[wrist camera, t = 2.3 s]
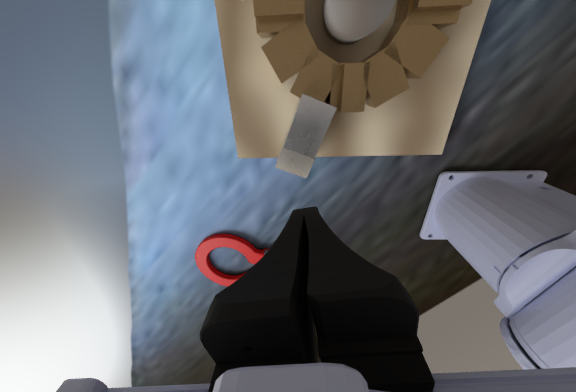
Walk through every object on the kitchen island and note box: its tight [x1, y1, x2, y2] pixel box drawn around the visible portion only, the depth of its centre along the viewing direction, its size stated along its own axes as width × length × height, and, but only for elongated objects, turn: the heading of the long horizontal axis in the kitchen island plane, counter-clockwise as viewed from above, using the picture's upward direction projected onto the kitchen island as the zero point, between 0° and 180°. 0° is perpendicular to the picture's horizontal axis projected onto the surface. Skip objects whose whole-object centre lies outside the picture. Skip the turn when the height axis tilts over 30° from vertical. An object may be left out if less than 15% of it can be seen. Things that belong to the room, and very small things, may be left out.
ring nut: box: [253, 0, 472, 178], centre depth 14 cm, size 12×16×4 cm
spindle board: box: [215, 0, 491, 158], centre depth 13 cm, size 18×20×5 cm
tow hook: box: [195, 234, 269, 286], centre depth 22 cm, size 8×13×9 cm
